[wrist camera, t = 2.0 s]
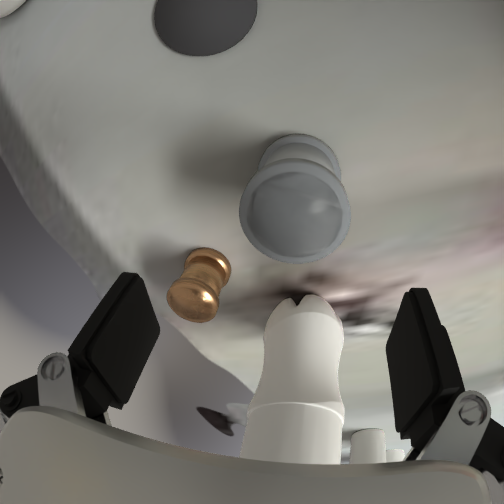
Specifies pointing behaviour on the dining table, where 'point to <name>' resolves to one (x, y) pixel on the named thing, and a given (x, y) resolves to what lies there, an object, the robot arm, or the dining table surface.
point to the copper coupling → (199, 285)
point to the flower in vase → (9, 6)
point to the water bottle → (298, 387)
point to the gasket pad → (204, 24)
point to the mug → (368, 447)
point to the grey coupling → (296, 201)
